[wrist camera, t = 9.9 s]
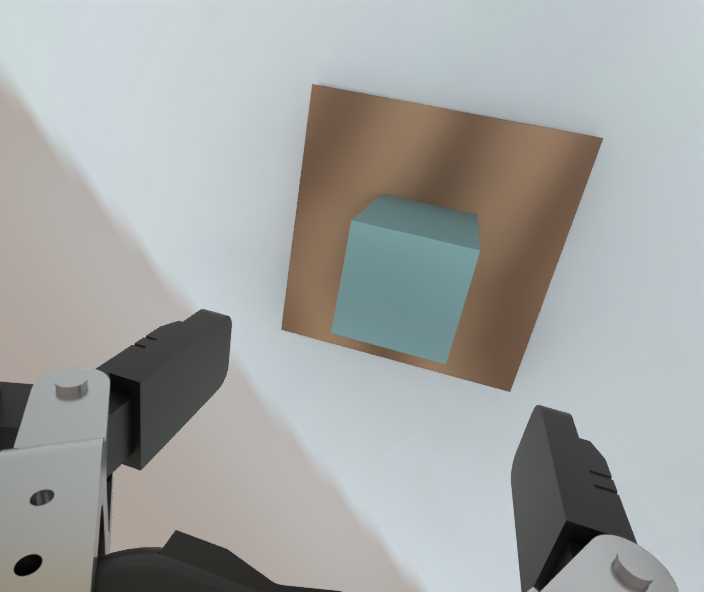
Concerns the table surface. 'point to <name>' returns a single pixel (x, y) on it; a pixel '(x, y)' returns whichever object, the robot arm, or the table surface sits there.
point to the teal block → (406, 276)
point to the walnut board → (446, 191)
